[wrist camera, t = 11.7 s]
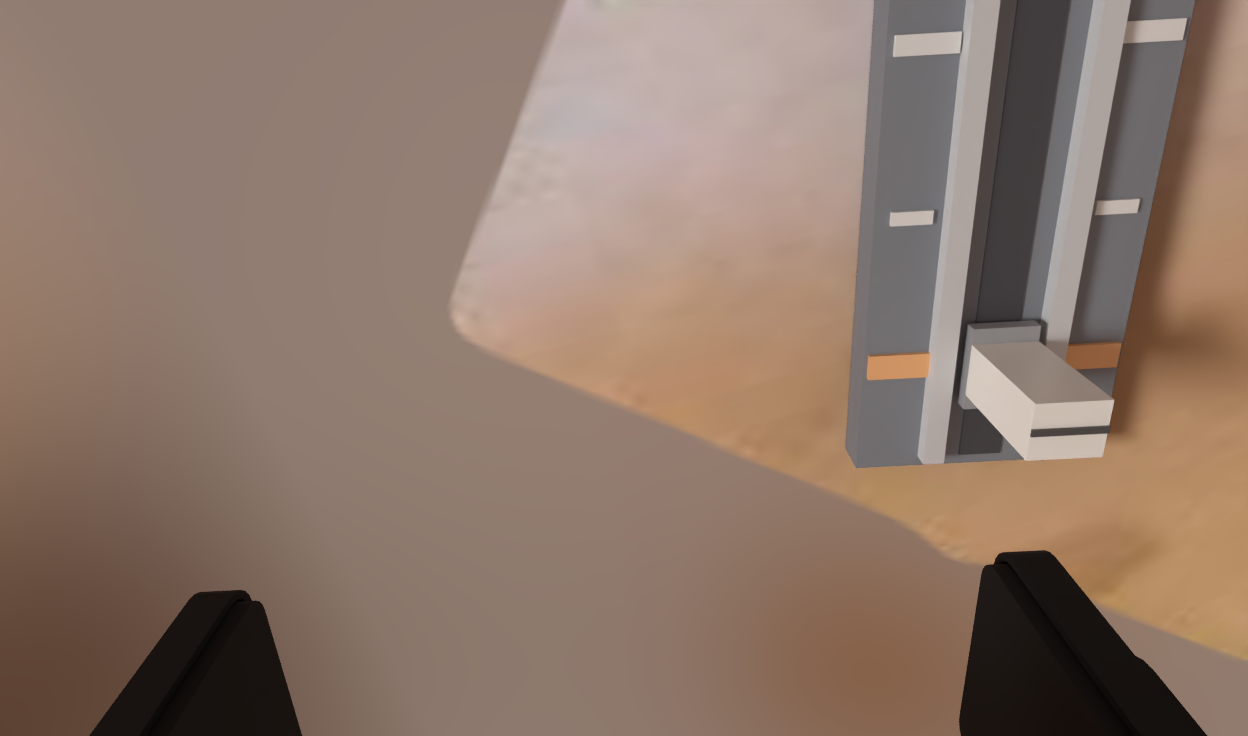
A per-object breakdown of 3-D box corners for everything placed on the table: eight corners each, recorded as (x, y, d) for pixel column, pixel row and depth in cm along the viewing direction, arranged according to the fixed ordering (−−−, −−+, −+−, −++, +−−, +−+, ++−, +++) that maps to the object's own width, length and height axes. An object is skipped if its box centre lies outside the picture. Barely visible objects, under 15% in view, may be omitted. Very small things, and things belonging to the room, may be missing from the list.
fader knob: (967, 323, 36) (1039, 387, 30) (1034, 320, 36) (1120, 383, 30) (957, 402, 38) (1024, 478, 32) (1021, 399, 38) (1100, 474, 32)
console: (877, -49, 32) (900, -54, 30) (1176, -67, 32) (1224, -74, 30) (845, 447, 42) (860, 476, 39) (1077, 436, 41) (1107, 463, 39)
